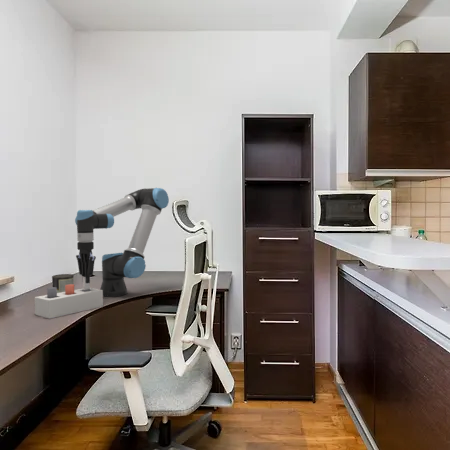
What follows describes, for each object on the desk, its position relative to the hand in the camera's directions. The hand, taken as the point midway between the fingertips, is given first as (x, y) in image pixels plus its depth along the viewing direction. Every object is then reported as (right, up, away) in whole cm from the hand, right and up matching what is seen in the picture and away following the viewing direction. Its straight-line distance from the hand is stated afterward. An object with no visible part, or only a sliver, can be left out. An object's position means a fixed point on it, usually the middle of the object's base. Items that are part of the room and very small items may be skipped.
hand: (86, 289), depth 202 cm
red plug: (-5, -4, -7) cm, 10 cm away
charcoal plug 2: (0, -7, 0) cm, 7 cm away
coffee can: (-15, -9, +9) cm, 19 cm away
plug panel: (-5, -9, -7) cm, 12 cm away
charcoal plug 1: (-11, -4, -14) cm, 18 cm away
